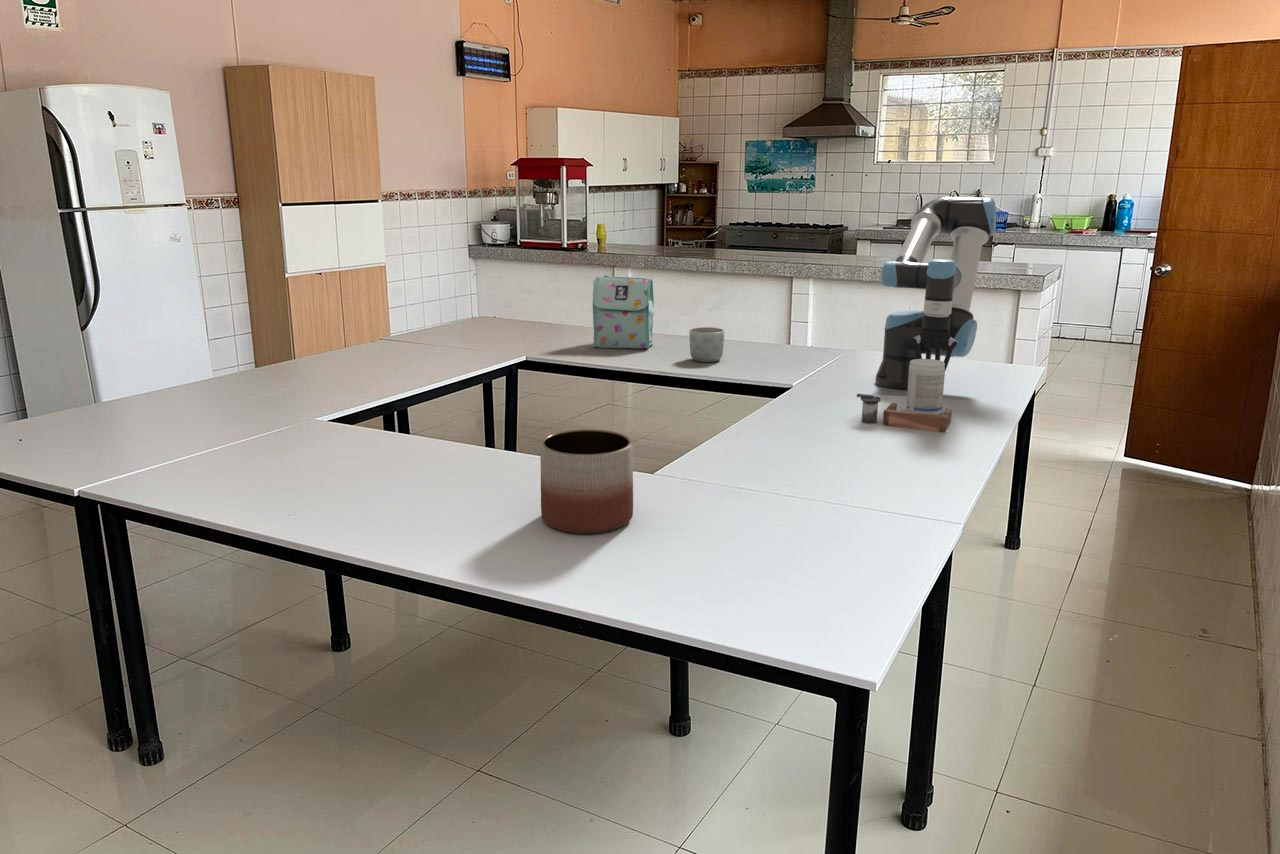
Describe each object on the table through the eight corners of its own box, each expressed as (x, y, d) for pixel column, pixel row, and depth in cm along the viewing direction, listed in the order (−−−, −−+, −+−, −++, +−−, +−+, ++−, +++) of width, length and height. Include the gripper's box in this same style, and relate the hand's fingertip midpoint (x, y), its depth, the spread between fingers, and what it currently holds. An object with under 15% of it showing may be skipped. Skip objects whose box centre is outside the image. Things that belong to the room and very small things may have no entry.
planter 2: (700, 355, 335) (701, 325, 332) (730, 359, 328) (731, 329, 325) (682, 360, 325) (682, 330, 322) (711, 365, 318) (712, 334, 315)
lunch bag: (589, 349, 346) (589, 277, 338) (598, 341, 361) (598, 272, 354) (649, 351, 342) (650, 279, 335) (656, 343, 358) (656, 274, 350)
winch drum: (857, 417, 251) (859, 391, 249) (880, 420, 249) (882, 394, 247) (853, 422, 247) (855, 395, 245) (876, 425, 244) (879, 398, 242)
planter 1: (558, 542, 166) (556, 460, 162) (529, 510, 182) (527, 434, 177) (647, 528, 173) (648, 448, 169) (612, 498, 189) (612, 425, 184)
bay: (890, 414, 255) (891, 400, 254) (950, 421, 248) (951, 407, 247) (882, 425, 244) (883, 410, 243) (945, 432, 238) (946, 417, 237)
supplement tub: (948, 414, 255) (953, 362, 251) (925, 419, 250) (930, 366, 246) (920, 407, 263) (925, 357, 259) (898, 411, 258) (902, 360, 254)
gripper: (911, 315, 259) (904, 396, 265) (959, 318, 254) (951, 401, 260) (915, 311, 265) (908, 391, 272) (962, 314, 260) (954, 395, 266)
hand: (929, 395), depth 266 cm, fingers closed
